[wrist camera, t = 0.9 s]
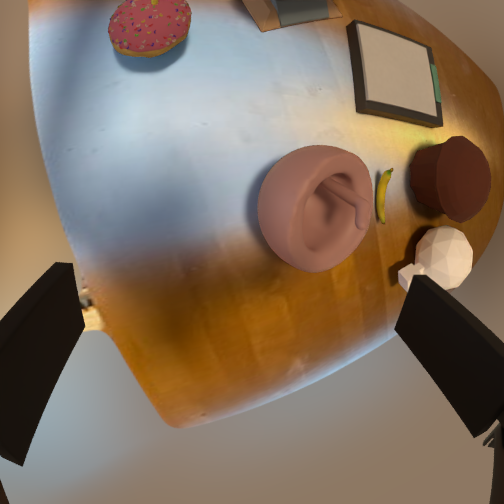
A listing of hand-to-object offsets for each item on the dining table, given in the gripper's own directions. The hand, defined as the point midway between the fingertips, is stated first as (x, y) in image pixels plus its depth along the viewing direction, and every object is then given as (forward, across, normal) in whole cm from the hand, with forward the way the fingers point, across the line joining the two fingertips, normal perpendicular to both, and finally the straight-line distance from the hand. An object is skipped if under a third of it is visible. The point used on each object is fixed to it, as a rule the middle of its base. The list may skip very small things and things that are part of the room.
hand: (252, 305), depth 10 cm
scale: (+27, +21, +18) cm, 39 cm away
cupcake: (+25, -10, +17) cm, 32 cm away
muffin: (+26, +28, +4) cm, 39 cm away
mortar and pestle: (+23, +8, -1) cm, 24 cm away
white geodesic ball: (+24, +28, -6) cm, 37 cm away
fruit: (+24, +19, +1) cm, 31 cm away
